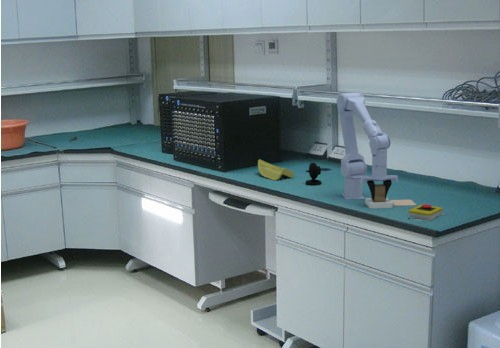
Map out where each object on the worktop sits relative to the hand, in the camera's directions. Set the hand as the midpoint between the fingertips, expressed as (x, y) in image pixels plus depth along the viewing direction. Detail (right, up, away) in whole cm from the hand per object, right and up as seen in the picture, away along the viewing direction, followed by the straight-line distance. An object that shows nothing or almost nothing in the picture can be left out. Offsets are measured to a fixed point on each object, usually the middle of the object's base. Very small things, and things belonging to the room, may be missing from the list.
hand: (378, 198), depth 272 cm
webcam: (-22, +5, +44) cm, 49 cm away
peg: (0, -2, 0) cm, 2 cm away
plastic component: (-39, +8, +63) cm, 74 cm away
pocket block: (0, -3, +1) cm, 3 cm away
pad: (+10, -2, +4) cm, 11 cm away
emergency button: (+15, -7, -15) cm, 22 cm away
